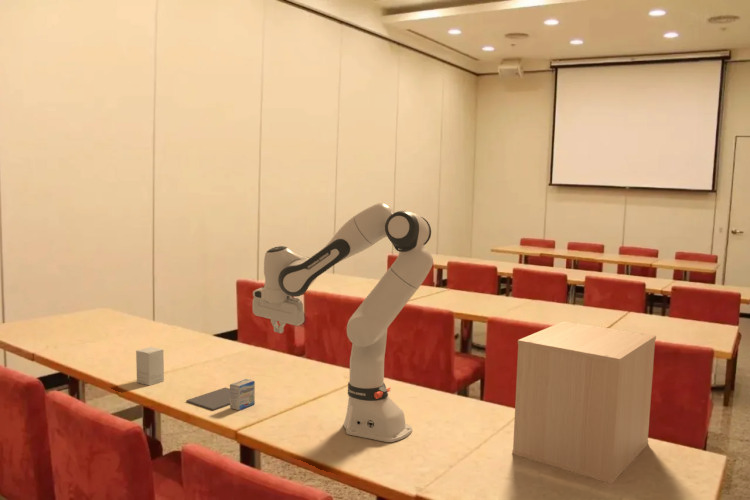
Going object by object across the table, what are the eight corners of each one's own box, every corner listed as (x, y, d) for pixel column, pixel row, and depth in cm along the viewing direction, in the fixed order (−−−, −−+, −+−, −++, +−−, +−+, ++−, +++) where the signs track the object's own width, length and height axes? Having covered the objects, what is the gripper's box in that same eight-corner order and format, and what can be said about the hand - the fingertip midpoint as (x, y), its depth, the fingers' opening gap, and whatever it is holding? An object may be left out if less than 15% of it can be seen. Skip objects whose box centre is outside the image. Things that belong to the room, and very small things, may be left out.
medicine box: (239, 411, 220) (239, 386, 219) (229, 408, 222) (229, 383, 221) (255, 404, 226) (255, 380, 225) (245, 402, 229) (245, 378, 228)
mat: (251, 396, 234) (251, 395, 234) (213, 410, 219) (213, 408, 219) (225, 388, 242) (225, 387, 242) (186, 401, 227) (186, 400, 227)
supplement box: (164, 381, 249) (164, 349, 248) (148, 386, 243) (148, 353, 242) (152, 377, 253) (151, 346, 252) (136, 382, 247) (135, 350, 246)
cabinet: (558, 420, 218) (564, 320, 214) (648, 443, 200) (656, 335, 197) (512, 453, 191) (517, 339, 187) (611, 483, 173) (620, 358, 169)
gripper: (308, 296, 216) (308, 335, 219) (261, 286, 226) (262, 323, 229) (296, 301, 210) (297, 341, 214) (248, 290, 221) (250, 328, 224)
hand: (278, 331), depth 222 cm, fingers closed
